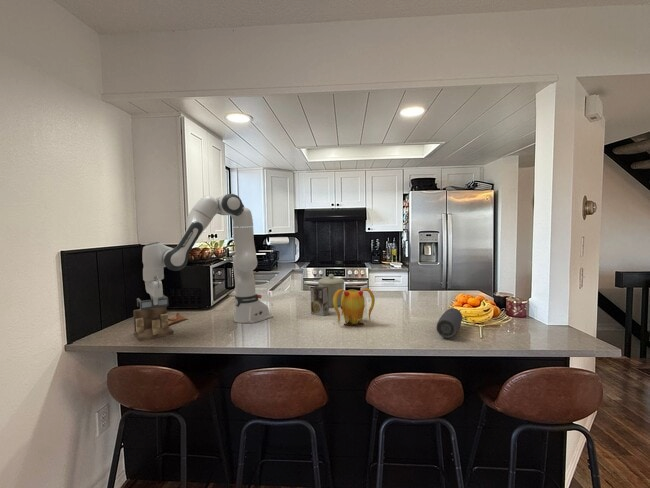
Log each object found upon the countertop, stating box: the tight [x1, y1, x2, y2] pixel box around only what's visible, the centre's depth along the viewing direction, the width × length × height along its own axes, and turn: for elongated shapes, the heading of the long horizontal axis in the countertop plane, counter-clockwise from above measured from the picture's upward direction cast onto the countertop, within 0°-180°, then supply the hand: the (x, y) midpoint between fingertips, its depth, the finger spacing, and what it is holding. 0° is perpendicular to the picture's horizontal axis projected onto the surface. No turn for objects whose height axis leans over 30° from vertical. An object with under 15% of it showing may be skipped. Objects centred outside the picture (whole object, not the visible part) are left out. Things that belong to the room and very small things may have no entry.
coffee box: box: [310, 285, 330, 316], centre depth 187 cm, size 9×6×16 cm
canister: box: [317, 273, 346, 308], centre depth 206 cm, size 18×18×21 cm
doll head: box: [333, 287, 376, 328], centre depth 167 cm, size 22×15×20 cm
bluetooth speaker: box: [436, 307, 463, 339], centre depth 151 cm, size 23×9×10 cm, turn 149°
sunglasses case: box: [168, 312, 188, 327], centre depth 175 cm, size 18×7×7 cm
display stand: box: [133, 306, 175, 342], centre depth 157 cm, size 15×14×12 cm
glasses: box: [136, 294, 170, 310], centre depth 155 cm, size 12×10×4 cm
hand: (154, 304), depth 152 cm, fingers closed on glasses, 2 cm apart
